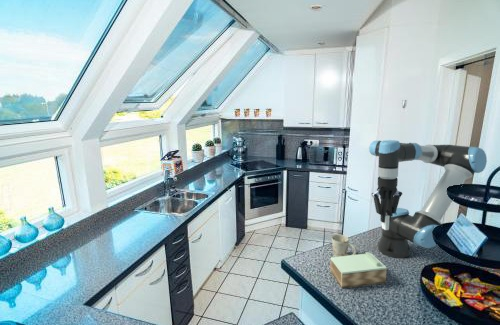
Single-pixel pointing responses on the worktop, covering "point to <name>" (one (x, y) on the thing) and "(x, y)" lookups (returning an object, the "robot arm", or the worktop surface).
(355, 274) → the lid box
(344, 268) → the lid
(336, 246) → the mug
